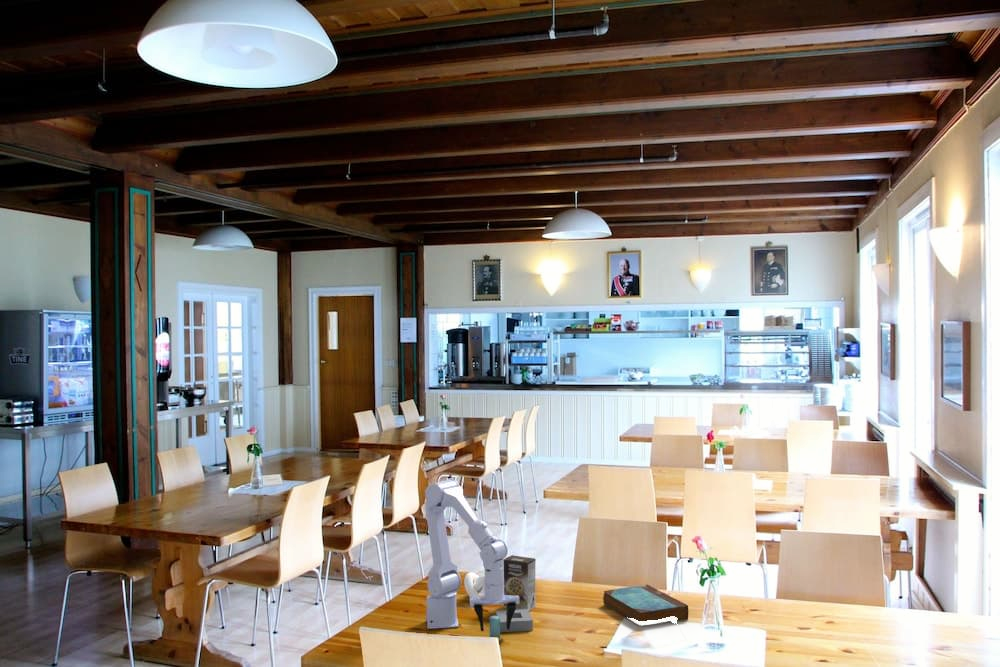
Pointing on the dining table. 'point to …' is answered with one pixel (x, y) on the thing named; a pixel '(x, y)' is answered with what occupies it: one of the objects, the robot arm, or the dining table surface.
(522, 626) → the socket board
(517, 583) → the coffee box
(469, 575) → the white knot sculpture
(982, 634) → the dining table surface
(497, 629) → the peg
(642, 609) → the book
